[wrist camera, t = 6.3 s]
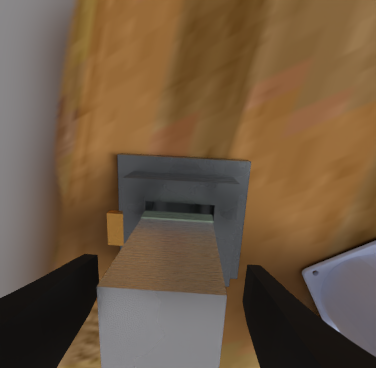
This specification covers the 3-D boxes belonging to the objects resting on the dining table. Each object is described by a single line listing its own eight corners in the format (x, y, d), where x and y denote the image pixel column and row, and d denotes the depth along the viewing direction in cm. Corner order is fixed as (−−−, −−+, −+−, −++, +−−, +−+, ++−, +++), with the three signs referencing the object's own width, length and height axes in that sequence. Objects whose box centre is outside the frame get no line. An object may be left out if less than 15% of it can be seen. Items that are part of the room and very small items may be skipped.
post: (212, 214, 13) (228, 293, 6) (207, 273, 14) (217, 394, 7) (145, 210, 13) (95, 284, 6) (144, 269, 14) (101, 385, 7)
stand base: (247, 160, 16) (261, 166, 13) (234, 271, 19) (243, 301, 15) (122, 153, 17) (103, 157, 13) (124, 264, 19) (108, 292, 15)
